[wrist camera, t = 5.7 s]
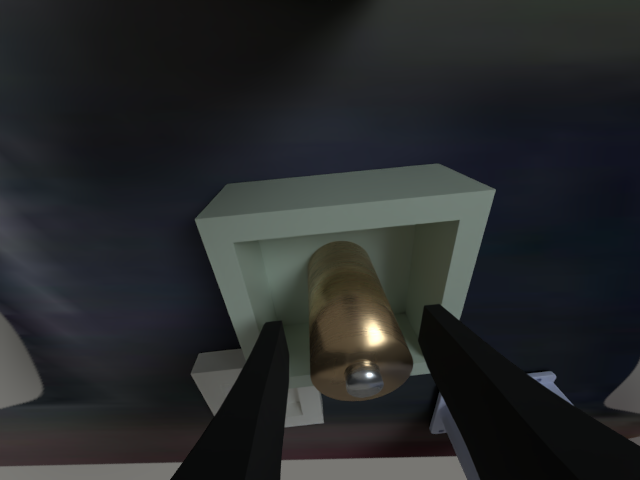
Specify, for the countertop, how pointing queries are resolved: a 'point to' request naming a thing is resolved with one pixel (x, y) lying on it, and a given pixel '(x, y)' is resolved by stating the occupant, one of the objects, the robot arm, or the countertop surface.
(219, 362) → the white square recessed tray
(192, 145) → the countertop surface
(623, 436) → the robot arm
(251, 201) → the grey-green square tray
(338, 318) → the cell
